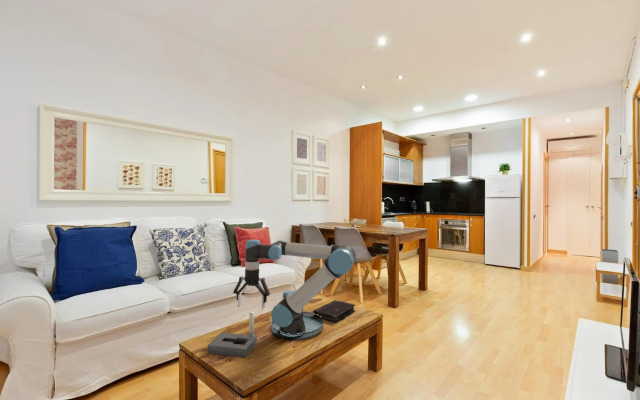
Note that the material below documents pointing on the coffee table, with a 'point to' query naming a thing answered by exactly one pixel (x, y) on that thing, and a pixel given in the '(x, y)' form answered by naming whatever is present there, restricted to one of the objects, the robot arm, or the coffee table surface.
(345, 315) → the diary
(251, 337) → the keyhole plate
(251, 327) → the peg
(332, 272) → the robot arm
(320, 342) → the coffee table surface
